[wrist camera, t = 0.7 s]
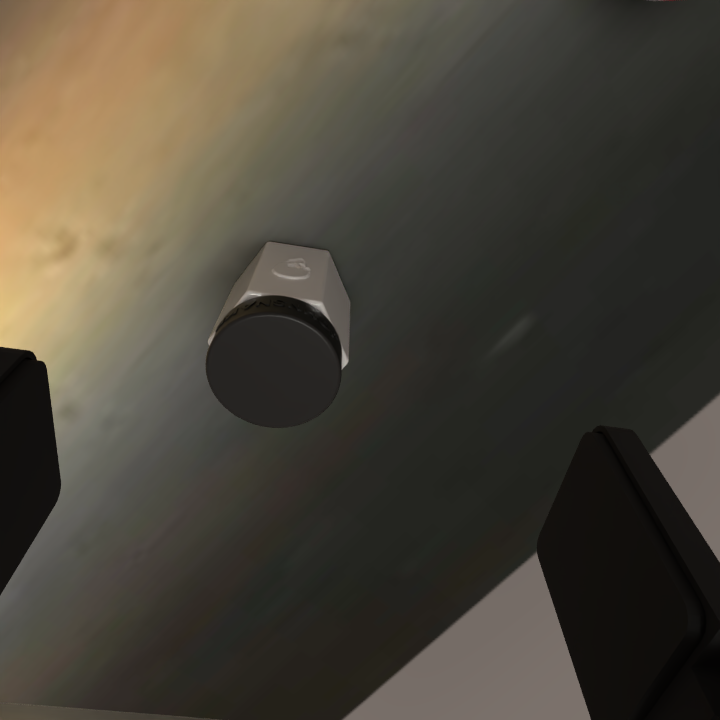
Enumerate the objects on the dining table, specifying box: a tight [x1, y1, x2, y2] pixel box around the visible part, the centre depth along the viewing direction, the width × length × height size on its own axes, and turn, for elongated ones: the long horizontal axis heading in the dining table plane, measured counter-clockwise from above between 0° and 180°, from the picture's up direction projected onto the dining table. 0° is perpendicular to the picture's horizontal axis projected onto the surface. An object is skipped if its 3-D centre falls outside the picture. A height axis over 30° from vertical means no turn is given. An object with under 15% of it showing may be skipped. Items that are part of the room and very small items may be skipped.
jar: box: [206, 241, 350, 428], centre depth 41 cm, size 9×8×12 cm
